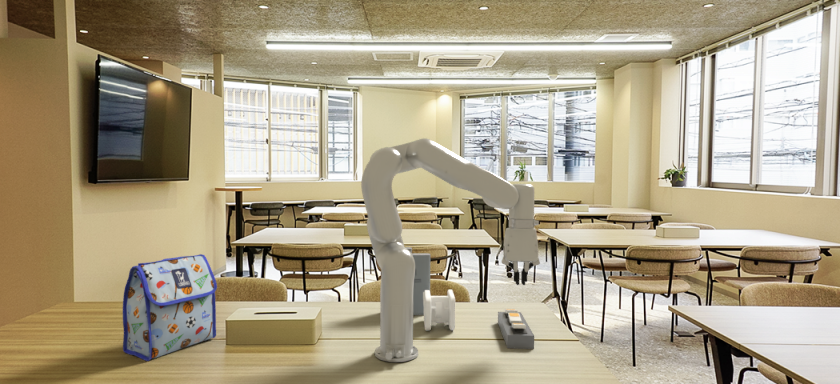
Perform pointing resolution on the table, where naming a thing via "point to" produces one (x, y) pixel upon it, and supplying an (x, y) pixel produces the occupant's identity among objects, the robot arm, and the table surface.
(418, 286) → the blue-grey tall flat block
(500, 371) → the table surface
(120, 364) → the table surface
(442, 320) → the cable organizer
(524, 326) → the plate
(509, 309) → the far rocker
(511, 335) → the power strip
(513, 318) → the middle rocker
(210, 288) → the lunch bag
